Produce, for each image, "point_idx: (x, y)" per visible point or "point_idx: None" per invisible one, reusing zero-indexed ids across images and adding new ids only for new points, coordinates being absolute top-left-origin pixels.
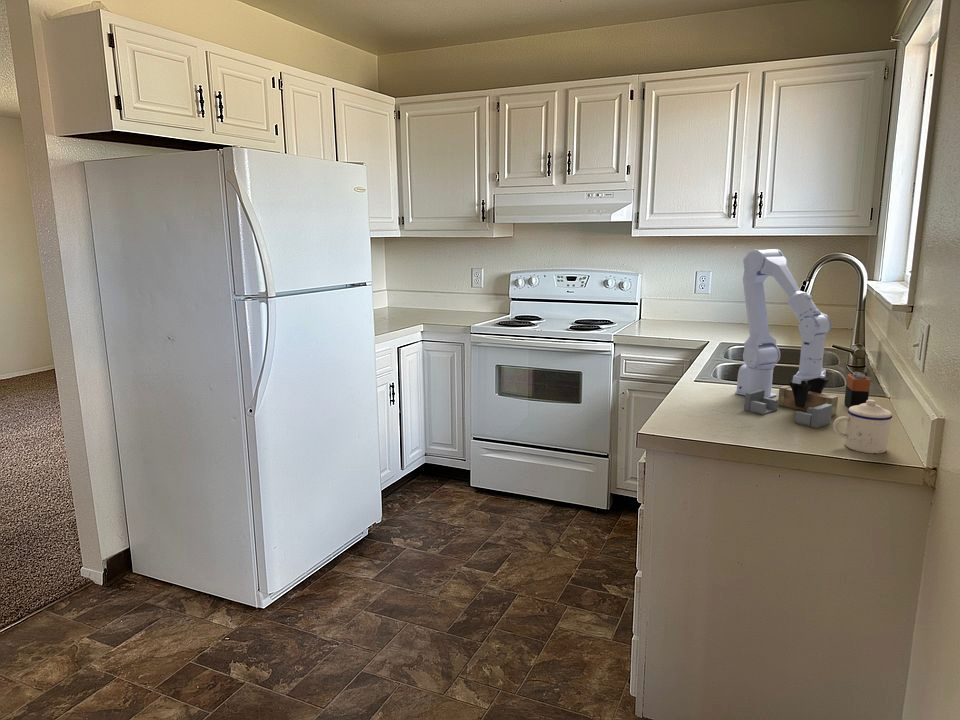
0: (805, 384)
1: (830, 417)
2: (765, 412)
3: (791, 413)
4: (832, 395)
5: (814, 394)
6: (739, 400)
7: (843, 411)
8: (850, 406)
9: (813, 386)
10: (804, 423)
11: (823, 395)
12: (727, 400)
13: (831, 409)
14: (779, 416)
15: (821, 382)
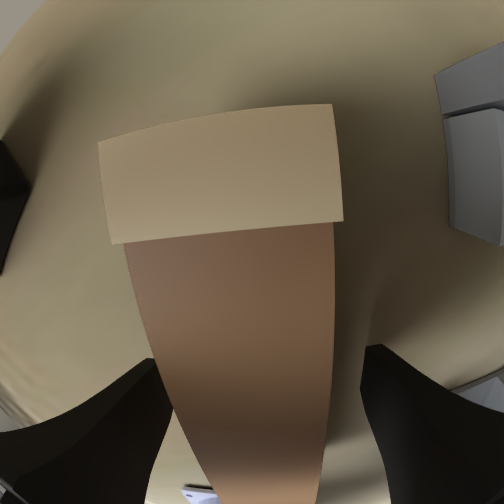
0: (495, 500)
1: (459, 65)
2: (497, 376)
3: (426, 340)
4: (127, 225)
5: (286, 410)
6: (361, 495)
7: (79, 185)
8: (17, 193)
9: (124, 483)
10: None
11: (225, 329)
12: (386, 496)
13: (496, 47)
14: (500, 326)
15: (62, 489)
